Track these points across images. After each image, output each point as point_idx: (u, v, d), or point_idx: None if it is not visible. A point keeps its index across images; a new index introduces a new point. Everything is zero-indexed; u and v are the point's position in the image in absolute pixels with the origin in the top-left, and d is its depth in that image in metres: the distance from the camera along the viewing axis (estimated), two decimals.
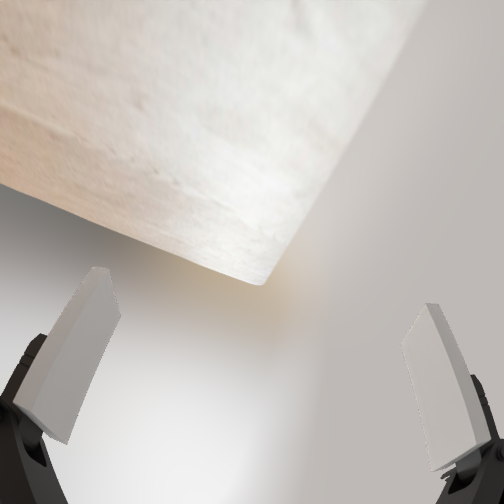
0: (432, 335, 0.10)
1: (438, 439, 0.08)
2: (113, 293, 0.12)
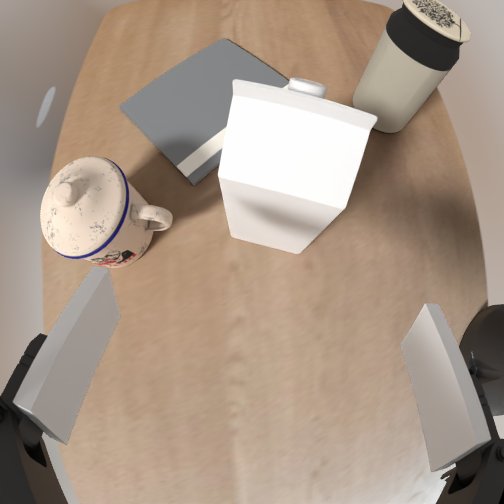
0: (432, 335, 0.10)
1: (438, 439, 0.08)
2: (113, 293, 0.12)
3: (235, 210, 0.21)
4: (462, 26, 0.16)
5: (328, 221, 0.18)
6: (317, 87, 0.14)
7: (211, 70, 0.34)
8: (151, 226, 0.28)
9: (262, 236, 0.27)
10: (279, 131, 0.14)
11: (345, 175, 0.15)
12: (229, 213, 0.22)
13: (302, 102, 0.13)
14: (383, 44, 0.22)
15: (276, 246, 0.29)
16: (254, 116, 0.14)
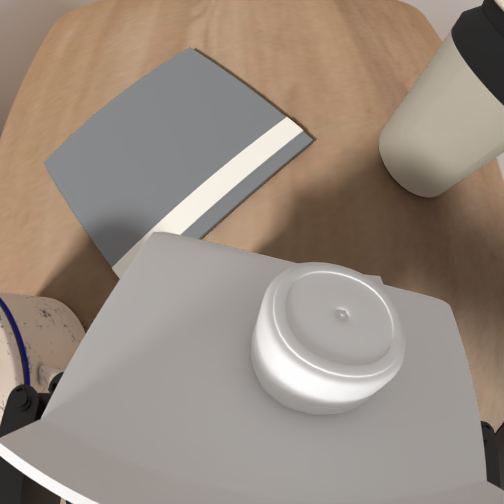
0: None
1: None
2: None
3: None
4: None
5: None
6: (377, 383, 0.03)
7: (166, 100, 0.23)
8: None
9: None
10: None
11: None
12: None
13: None
14: (448, 66, 0.12)
15: None
16: None
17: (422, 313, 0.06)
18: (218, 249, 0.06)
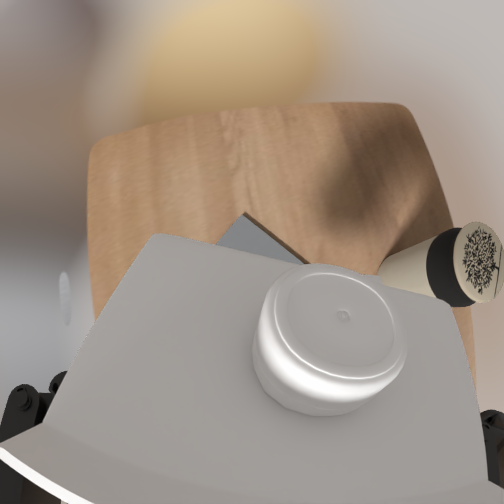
0: None
1: None
2: None
3: None
4: (500, 264, 0.21)
5: None
6: (378, 385, 0.03)
7: None
8: None
9: None
10: None
11: None
12: None
13: None
14: (420, 278, 0.27)
15: None
16: None
17: (422, 313, 0.06)
18: (218, 251, 0.06)
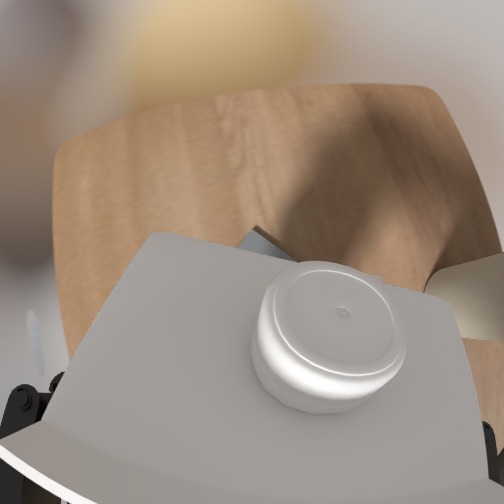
0: None
1: None
2: None
3: None
4: None
5: None
6: (378, 382, 0.03)
7: None
8: None
9: None
10: None
11: None
12: None
13: None
14: (494, 310, 0.18)
15: None
16: None
17: (422, 311, 0.06)
18: (217, 249, 0.06)
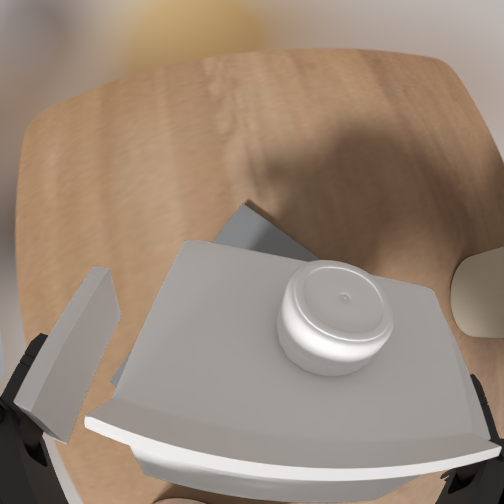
0: None
1: None
2: (113, 293, 0.12)
3: None
4: None
5: None
6: (372, 346, 0.05)
7: None
8: None
9: None
10: None
11: (389, 481, 0.06)
12: None
13: None
14: None
15: None
16: None
17: (410, 298, 0.07)
18: (241, 252, 0.08)
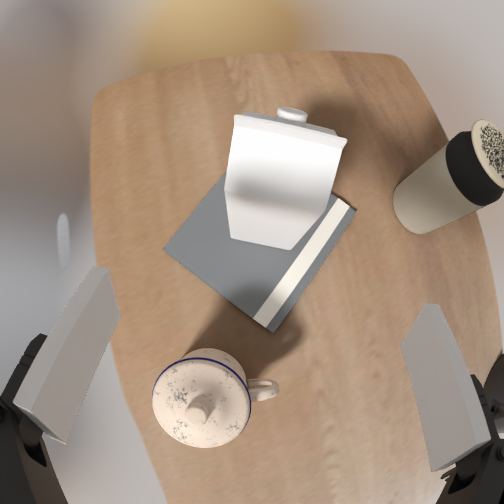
0: (432, 335, 0.10)
1: (438, 439, 0.08)
2: (113, 293, 0.12)
3: (236, 216, 0.26)
4: None
5: (313, 221, 0.23)
6: (299, 116, 0.19)
7: None
8: (250, 384, 0.31)
9: (258, 236, 0.31)
10: (271, 153, 0.19)
11: (324, 185, 0.20)
12: (231, 218, 0.27)
13: (288, 131, 0.18)
14: (442, 178, 0.26)
15: (270, 244, 0.34)
16: (251, 142, 0.19)
17: (322, 128, 0.21)
18: (263, 114, 0.22)
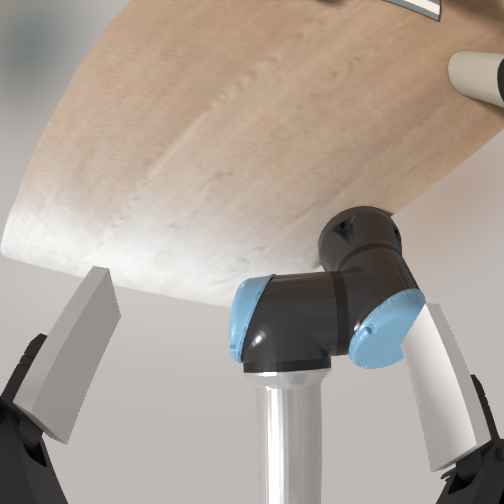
0: (432, 335, 0.10)
1: (438, 439, 0.08)
2: (113, 293, 0.12)
3: None
4: None
5: None
6: None
7: None
8: None
9: None
10: None
11: None
12: None
13: None
14: (497, 57, 0.21)
15: None
16: None
17: None
18: None
